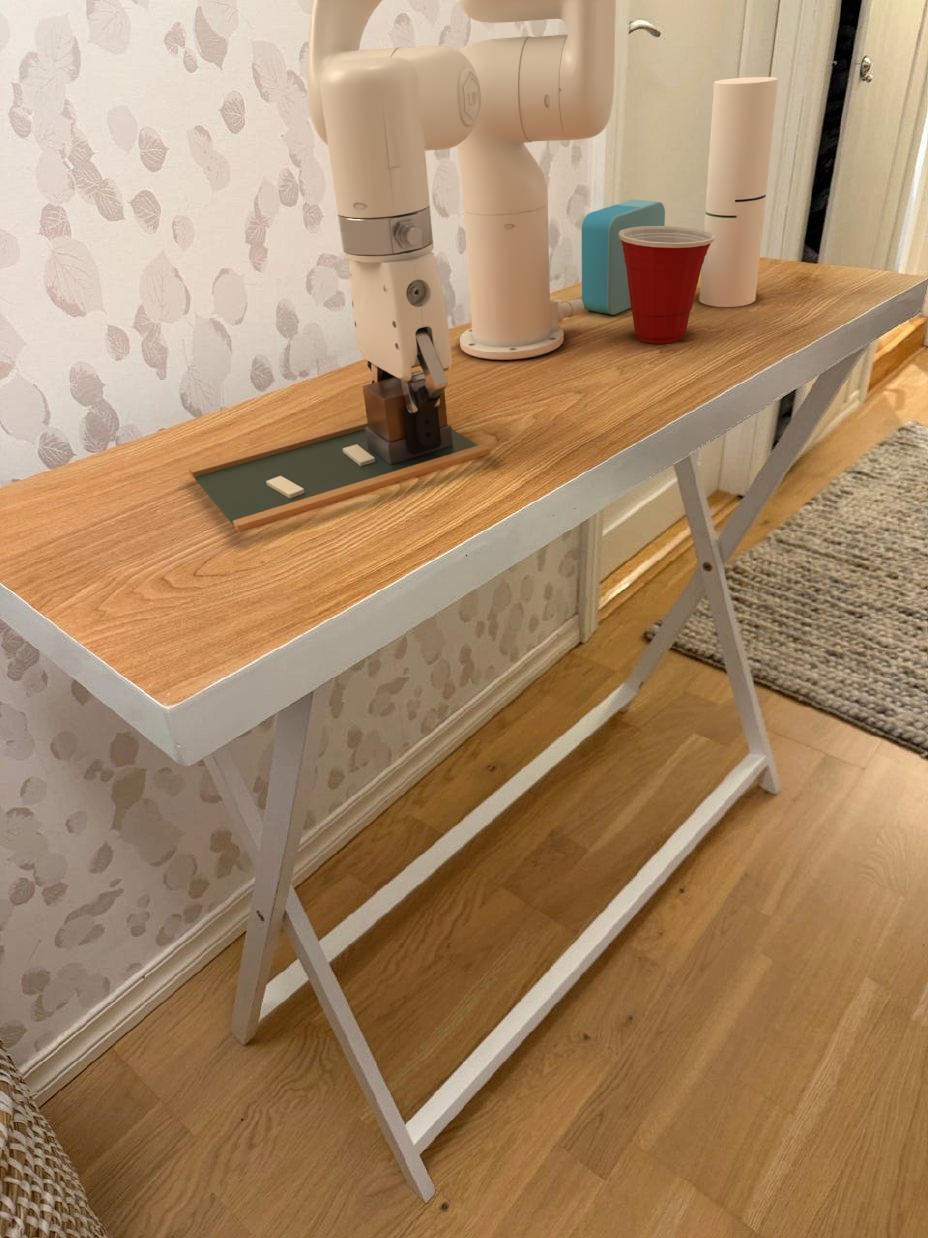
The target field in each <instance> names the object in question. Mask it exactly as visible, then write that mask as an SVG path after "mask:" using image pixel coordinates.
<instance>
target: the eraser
mask: <svg viewBox="0 0 928 1238" xmlns="http://www.w3.org/2000/svg"><path fill="white" fill-rule="evenodd" d="M420 372H423V370H418V371H414V372H412V373H413V374H416V373H420ZM424 383H425V382H424V380H421V381H418V382H414V383H412V384H413V389H414V393H415V394H416V392H417V390H418V389H419V387H422V386H424ZM362 393H363V394H362V395H363V400H364V406H365V407H364V408H365V414H366V415H365V416H366V419H367V422H368V427H366V428H365V432H366V439H367V446H368V448H369V449H371V450H372V451H373V452H375V453H376V454H377V455H379V456H380V457H381V458H383V459H384V460H385V461H387V462H388V463H390V464H395V463H398V462H401V461H404V460H408V459H411V458H414V457H418V456H421V455H424V454H427V453H431V452H434V451H437V450H441V449H444V448H447V447H450V446H453V441H452V429H453V428H452V425H450V424H449V423H448V415H447V413H448V412H447V403H446V401H447V400H446V390H445V389H444V391H443V392H442V393H441V396H440V398H439V399H440V406H439V407H438V414H439V424H440V435H441V445H440V447H438V448H435V449H431V450H428V451H425V452H422V453H418V454H415V455H412V454H411V453H409V452H408V449H407V441H406V432H405V424H404V415H403V412H405V411H408V410H407V406H406V402H405V398H404V394H403V389H402V385H401V381H400V379H399V378H397V377H395V378H391V379H387V380H383V381H380V382H376V383H369V384H364V385H362Z"/></svg>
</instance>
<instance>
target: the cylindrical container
mask: <svg viewBox="0 0 928 1238" xmlns="http://www.w3.org/2000/svg"><path fill="white" fill-rule="evenodd" d="M778 82H779V77H778V78H777V77H774V76H748V77H733V78H725V79H719V80H716V81H714V82H713V93H712V107H711V122H710V138H709V150H708V151H709V153H708V154H709V155H708V164H707V165H708V166H707V179H706V192H705V193H706V195H705V209H704V210H705V211H704V223H703V225H704V226H703V231H708V232H710V233H712V234H714V235H715V239H714V241H713V242H712V243H711V245H710V246H709V248H708V250H707V254H706V255H705V258H704V262H703V264H702V267H701V271H700V281H699V282H700V283H699V296H698V297H699V298H698V301H699V302H700V303H701V304H703V305H706V306H710V307H716V308H735V307H736V308H737V307H743V306H747V305H751V304H752V303H754V302H755V301H756V297H757V288H758V278H759V268H760V258H761V250H762V239H763V229H764V219H765V211H766V199H767V189H768V179H769V171H770V170H769V169H770V160H771V152H772V151H771V150H772V140H773V131H774V121H775V111H776V101H777V91H778Z"/></svg>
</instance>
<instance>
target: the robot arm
mask: <svg viewBox="0 0 928 1238" xmlns="http://www.w3.org/2000/svg"><path fill="white" fill-rule="evenodd" d="M382 1H383V0H313V1H312V6H311V11H310V18H309V30H308V33H309V34H308V46H307V47H308V50H307V68H306V69H307V74H306V75H307V76H306V77H307V78H306V81H307V82H306V83H307V85H306V86H307V87H306V88H307V89H306V90H307V102H308V109H309V114H310V118H311V121H312V124H313V127H314V130H315V132H316V133H317V135H318V137H319V138H320V140H322V142H323V143H324V144H326V145H327V146H328V147H327V148H328V153H329V160H330V167H331V174H332V181H333V189H334V196H335V202H336V210H337V218H338V219H337V220H338V225H339V233H340V240H341V247H342V254H343V258H344V259H345V260H347V261H348V264H349V265H348V266H349V282H350V295H351V296H350V297H351V305H352V316H353V324H354V331H355V337H356V341H357V346H358V350H359V352H360V354H361V356H362V357H363V358H364V359H365V360H366V361H367V362H366V363H367V364H366V365H367V368H368V369H369V370H370V372H371V373H370V374H371V379H370V380H371V382H370V384H372V383H376V382H380V381H383V380H387V379H391V378H395V377H397V378H399V379H400V381H401V385H402V389H403V394H404V398H405V402H406V406H407V410H408V411H405V412H403V415H404V424H405V432H406V441H407V449H408V452H409V453H411V454H412V455H415V454H418V453H422V452H425V451H428V450H431V449H435V448H438V447H440V445H441V435H440V424H439V414H438V407H439V406H440V399H439V398H440V396H441V393H442V392H443V391H444V390H445V389H446V388H447V387H448V378H447V376H446V374H445V372H447V371H449V370H450V369H451V368H452V364H453V359H452V358H453V357H452V348H451V347H452V346H451V340H450V339H451V338H450V331H449V323H448V315H447V308H446V302H445V297H444V291H443V285H442V280H441V276H440V271H439V267H438V263H437V261H436V256H435V253H434V252H432V251H433V250H434V248H435V247H434V237H433V236H434V235H433V226H432V225H433V224H432V213H431V205H430V204H431V203H430V192H429V181H428V170H427V169H428V167H427V158H426V151H443V150H448V149H452V148H454V147H456V150H457V155H458V162H459V170H460V181H461V192H462V206H463V221H464V234H465V237H464V238H465V248H466V249H465V251H466V263H467V279H468V293H469V295H468V296H469V309H470V320H471V321H470V323H471V327H470V328H468V329H467V330H466V329H465V331H464V332H462V334H461V335H460V337H459V346H460V349H461V350H462V351H463V352H464V353H465V354H467V355H469V356H472V357H474V358H478V359H485V360H494V361H495V360H499V361H505V360H507V361H509V360H510V361H512V360H523V359H529V358H534V357H539V356H541V355H542V356H543V355H545V354H549V353H550V352H553V351H555V350H556V349H559V348H560V346H561V345H562V344H563V343H564V340H565V335H564V330H563V328H562V327H560V325H559V323H562V322H563V321H564V319H566V318H573V317H577V316H581V315H583V314H584V311H585V308H584V304H583V302H582V298H575V299H571V300H567V301H565V302H563V301H562V299H560V298H557V299H552V298H551V283H550V281H551V279H550V278H551V277H550V241H549V240H550V239H549V237H550V235H549V233H550V232H549V195H548V193H549V192H548V190H549V189H548V184H547V180H546V177H545V174H544V172H543V170H542V169H541V166H540V165H539V163H538V162H537V160H536V158H534V156H533V154H532V153H531V151H530V150H529V149H528V147H527V146H526V144H527V143H532V142H552V141H553V142H555V141H578V140H587V139H591V138H593V137H594V138H595V137H596V136H599V134H601V133H603V131H604V130H605V129H606V127H607V125H608V123H609V120H610V118H611V114H612V110H613V103H614V89H615V56H616V55H615V54H616V51H615V50H616V12H617V11H616V10H617V9H616V6H617V0H459V4H460V5H461V9H462V10H463V12H464V13H465V14H466V15H467V16H468V18H470V19H472V20H473V21H477V22H480V23H487V24H489V23H491V24H493V23H494V24H497V23H501V24H503V23H517V22H519V23H520V22H531V21H533V22H534V21H546V20H562V21H563V22H564V23H565V26H566V30H567V34H555V35H542V36H529V35H528V36H518V37H517V36H516V37H503V38H502V37H501V38H492V39H485V40H480V41H477V42H473V43H470V44H468V45H467V46H464V47H463V48H462V49H460V50H457V49H454V48H452V47H449V46H443V45H425V46H424V45H423V46H408V47H388V48H373V49H371V48H370V49H360V47H361V41H362V38H363V36H364V35H363V34H364V31H365V29H366V26H367V25H368V22H369V19H370V18H371V17H372V15H373V13H374V11H375V10H376V9H377V8H378V6H379V5H380V4H381V3H382ZM418 367H420V368H421V371H422V372H420V373H416V374H413V373H414V372H412V371H413V370H412V369H414V368H418ZM421 380H424V382H425V383H424V386H422V387H419V389H418V390H417V392H416V394H415V393H414V389H413V384H412V383H414V382H418V381H421Z"/></svg>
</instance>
